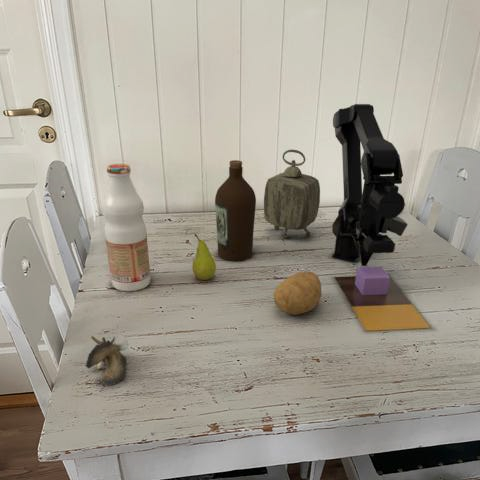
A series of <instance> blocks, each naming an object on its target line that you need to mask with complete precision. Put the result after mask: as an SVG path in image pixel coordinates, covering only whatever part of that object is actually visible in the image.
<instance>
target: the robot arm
mask: <svg viewBox="0 0 480 480" xmlns="http://www.w3.org/2000/svg"><path fill="white" fill-rule="evenodd" d="M374 112H375V108H374V106H373V104H370V103H355V104H351V105H350V106H348V107H344V108H339V109H338V110H337V111H336V112H334V114H333V118H332V126H333V128H334V133H335V134H334V135H335V138H336V140H337V141H338V142H339V144H340V145H341V151H342V152H341V153H342V154H341V156H342V157H341V159H342V179H343V181H342V183H343V185H342V186H343V202H342V204H341V205H340V207H339V209H338V212H337V216H336V218H335V220H334V221H333V223H332V229H331V230H332V234H333V235H334V236H335V245H334V252H333V253H332V254H331V258H334V259H338V260H343V261H348V262H352V263H355V262H356V261H357V260H358V259H359V262H360V265H361V267H367V265H368V264H369V262H370V260H371V258H372V256H373V255H374V254H391V253H392V254H393V253H394V252H395V249H396V243H395V242H394V240H393V239H392V238H390V236H388V234H387V232H390V233H393V234H396V236H399V237H402V236H403V234H404V232H405V230H407V229H406V228H407V227H408V225H409V224H408V223H407V222H406V221H405V220H404V219H402V218H401V217H400V214H401V213H403V211H404V209H405V206H406V205H405V204H406V203H405V198H404V196H403V195H402V194H401V193H400V192H399V190H400V187H399V186H398V185H401V184H402V183H403V176H404V172H403V167H402V163H401V162H402V161H401V157H400V153H399V152H398V150H397V148H396V147H395V145H394V144H393V143H392V142H391V141H388V140H387V139H385V138H384V136H383V133H382V130H381V128H380V126H379V123H378V121H377V118H376V116H375V114H374ZM361 150H363V153H362V151H361ZM363 181H364V182H363Z"/></svg>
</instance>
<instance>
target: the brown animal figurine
mask: <svg viewBox="0 0 480 480" xmlns="http://www.w3.org/2000/svg"><path fill="white" fill-rule="evenodd" d="M90 338H91V339H92V341H93V342H95V343H96V345H95V346H94V347H93V349H92V350H91V351H90V352H89V353H88V356H87V359H86V364H85V367H86V368H87V369H90V368H92V367H94V366H96V365H97V366H96V367H97V368H96V370H99V369H102V368H103V367H104V365H105V364H106V366H105V367H106V368H105V371H104V372H103V375H102V377H101V378H100V383H102V385H105V386H106V387H108V386H109V387H111V386H112V385H115V384H117V383H120V381H123V379H124V377H125V376H126V373H127V372H126V370H127V357H126V356H125V355H124V354H123V353H122V351H125V350H128V340H127V337H126V336H125V335H122V334H117V335H115V336H113V338H112V340H110V339H107V340H106V338H105V337H102V339H101V340H99V339H97V338H96V337H95V336H93V335H91V336H90Z"/></svg>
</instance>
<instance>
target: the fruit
mask: <svg viewBox="0 0 480 480" xmlns="http://www.w3.org/2000/svg"><path fill="white" fill-rule="evenodd" d="M194 237H195V238H196V239H197V241H198V242H197V243H198V244H197V246H196V253H195V254H196V255H195V256H194V257H195V258H194V260H193V261H192V267H191V268H192V272H193V274H194V276H195V277H196V278H197V279H198V280H200V281H207V280H210V279H211V278H212V277H213V276H214V275H215V273H216V271H217V265H216V261H215V259H214V257H213V256H212V253H211V252H210V249H209V248H208V246H207V244H206V243H205V241H204V240H202V239H200V238H199V236H198V235H197V234H196V233H194Z"/></svg>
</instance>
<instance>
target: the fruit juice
mask: <svg viewBox="0 0 480 480" xmlns="http://www.w3.org/2000/svg"><path fill="white" fill-rule="evenodd" d="M131 171H132V170H131V166H130V164H127V163H113V164H109V165H107V166H106V173H107V175H108V182H107V187H106V189H105V190H106V191H105V194H104V197H103V199H102V202H101V211H102V214H103V217H104V219H105V223H104V229H103V230H104V240H105V246H106V253H107V254H106V255H107V262H108V269H109V276H110V282H111V285H112V287H113V288H114V289H116V290H118V291H122V292H134V291H135V292H136V291H140V290H143V289H145V288H147V287H148V286H149V285H150V284H151V268H150V267H151V266H150V256H149V255H150V254H149V245H148V232H147V226H146V223H145V221H144V217H143V215H144V209H145V208H144V207H145V206H144V201H143V200H142V198H141V196H140V195H139V193H138V191H137V189H136V187H135V185H134V183H133V180H132V178H131V176H130V175H131Z"/></svg>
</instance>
